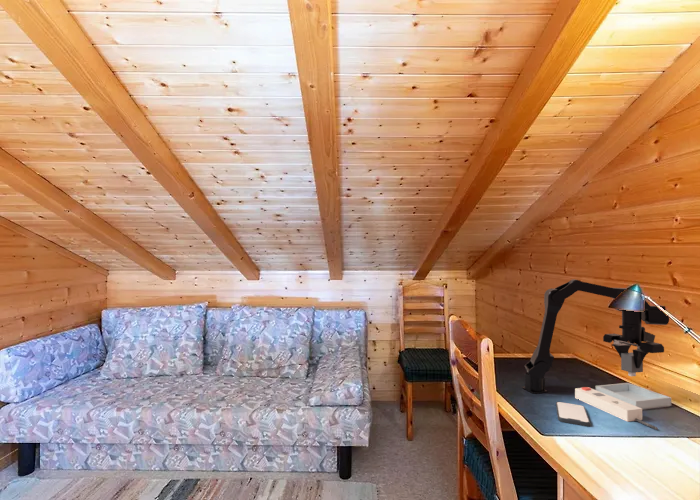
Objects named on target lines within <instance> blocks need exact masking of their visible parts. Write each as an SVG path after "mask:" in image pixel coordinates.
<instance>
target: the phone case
mask: <svg viewBox="0 0 700 500" xmlns="http://www.w3.org/2000/svg"><path fill="white" fill-rule="evenodd" d="M555 406H556V407H555V409H556V415H557V419H558V420H557V421H558V422H560V423H563V424H570V425H575V426H582V427H587V428H589V427H591V420H590V418H589V416H588V412H587V409H586V407H585V406H584V405H580V404H575V403H568V402H563V401H562V402H561V401H555Z"/></svg>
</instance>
